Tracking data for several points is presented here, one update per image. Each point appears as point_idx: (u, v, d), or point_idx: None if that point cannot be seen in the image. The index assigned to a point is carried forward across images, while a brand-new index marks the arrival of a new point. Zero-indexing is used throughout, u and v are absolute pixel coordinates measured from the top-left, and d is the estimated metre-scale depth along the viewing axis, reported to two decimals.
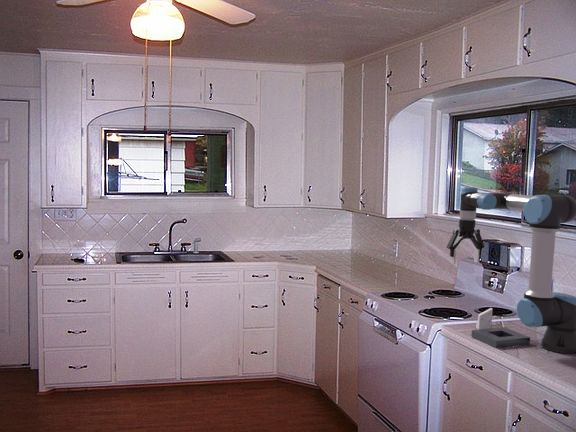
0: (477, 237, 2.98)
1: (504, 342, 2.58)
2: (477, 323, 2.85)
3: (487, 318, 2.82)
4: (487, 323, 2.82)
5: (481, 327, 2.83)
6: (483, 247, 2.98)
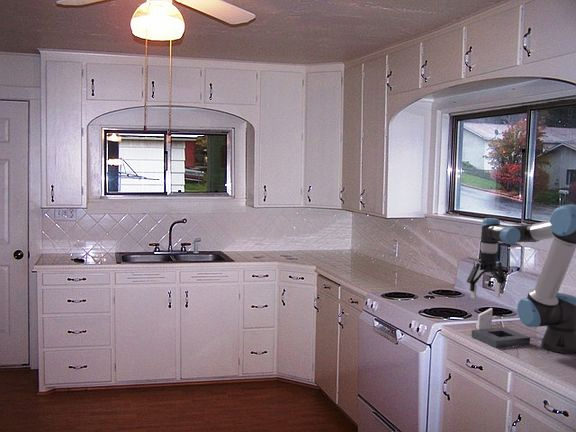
0: (498, 270, 2.84)
1: (504, 342, 2.58)
2: (477, 323, 2.85)
3: (487, 318, 2.82)
4: (487, 323, 2.82)
5: (481, 327, 2.83)
6: (504, 280, 2.85)
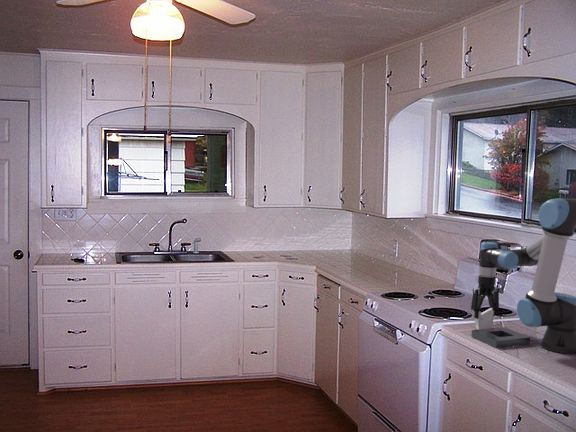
0: (494, 296, 2.85)
1: (504, 342, 2.58)
2: None
3: (487, 318, 2.82)
4: (487, 323, 2.82)
5: (481, 327, 2.83)
6: (497, 308, 2.85)
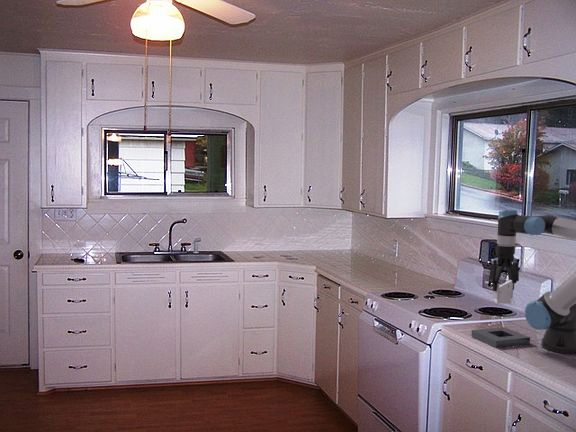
0: (514, 267, 2.66)
1: (504, 342, 2.58)
2: None
3: (506, 290, 2.64)
4: (506, 296, 2.64)
5: (500, 300, 2.64)
6: (517, 280, 2.66)
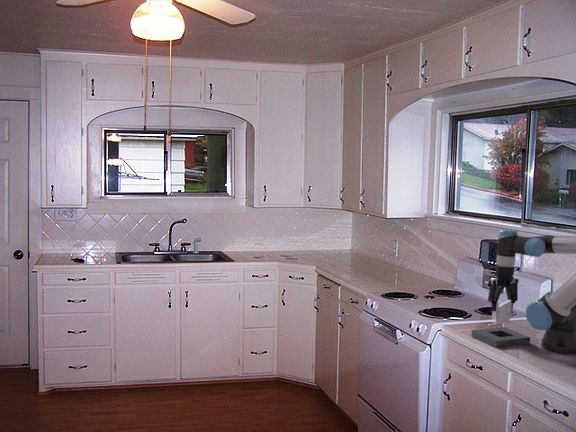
0: (513, 287, 2.67)
1: (504, 342, 2.58)
2: None
3: (505, 310, 2.64)
4: (505, 316, 2.64)
5: (499, 320, 2.64)
6: (516, 300, 2.66)
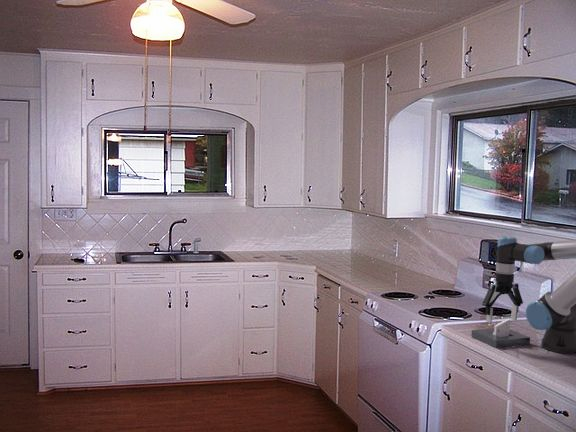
0: (515, 292, 2.67)
1: (504, 342, 2.58)
2: (493, 334, 2.67)
3: (504, 329, 2.65)
4: (504, 334, 2.65)
5: None
6: (522, 303, 2.68)
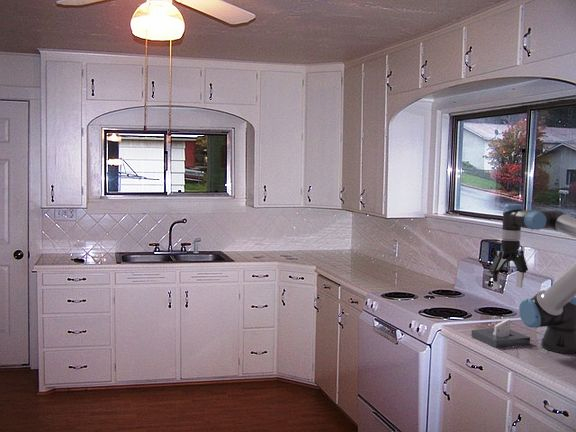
0: (520, 259, 2.70)
1: (504, 342, 2.58)
2: (493, 334, 2.67)
3: (504, 329, 2.65)
4: (504, 334, 2.65)
5: None
6: None
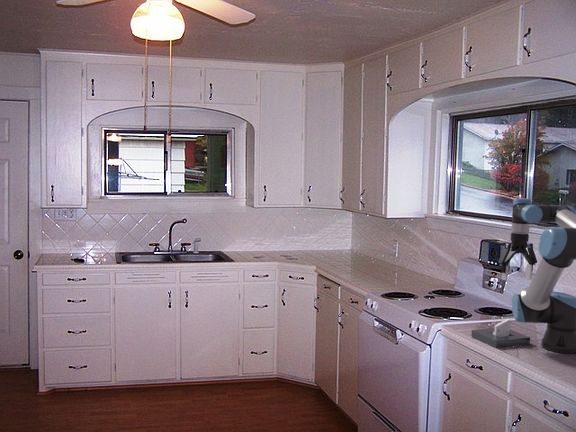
0: (530, 252, 2.78)
1: (504, 342, 2.58)
2: (493, 334, 2.67)
3: (504, 329, 2.65)
4: (504, 334, 2.65)
5: None
6: (536, 262, 2.79)
